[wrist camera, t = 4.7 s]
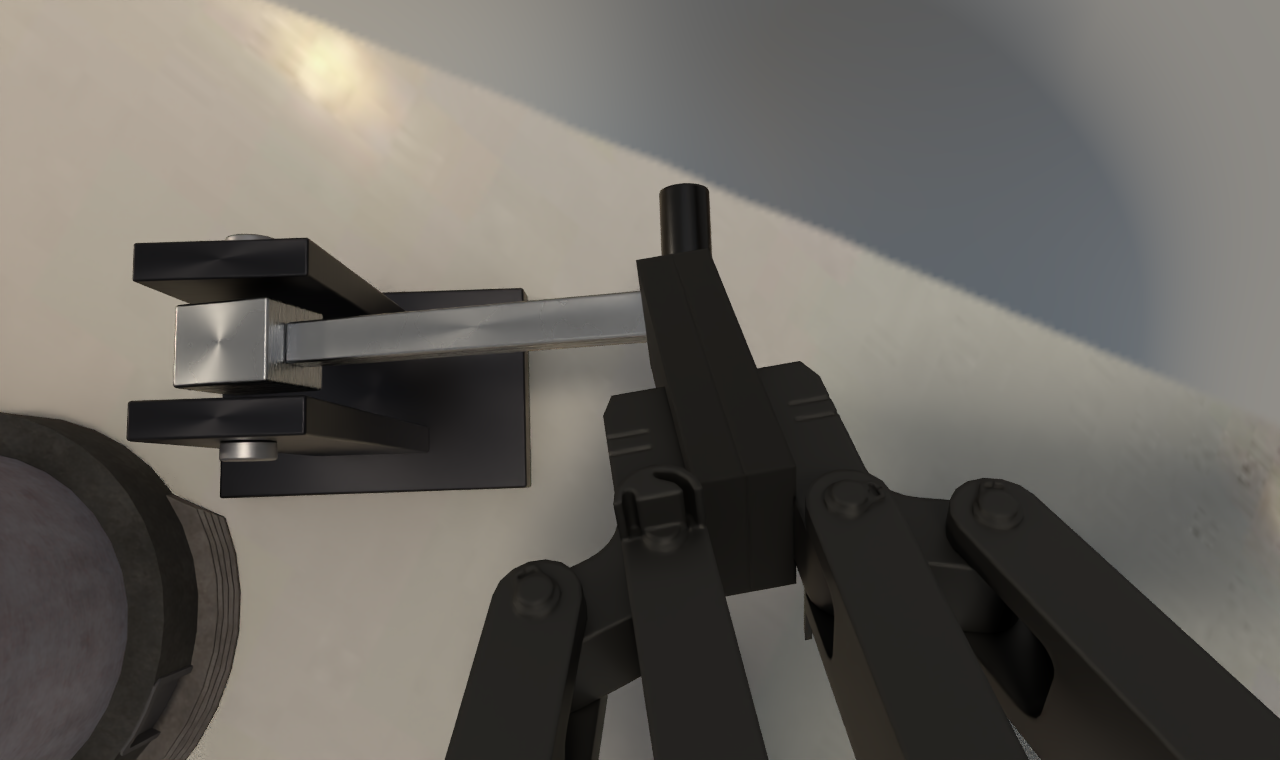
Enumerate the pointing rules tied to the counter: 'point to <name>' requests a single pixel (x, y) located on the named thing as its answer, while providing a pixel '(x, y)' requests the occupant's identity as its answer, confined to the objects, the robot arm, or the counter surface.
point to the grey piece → (106, 601)
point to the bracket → (341, 387)
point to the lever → (409, 325)
